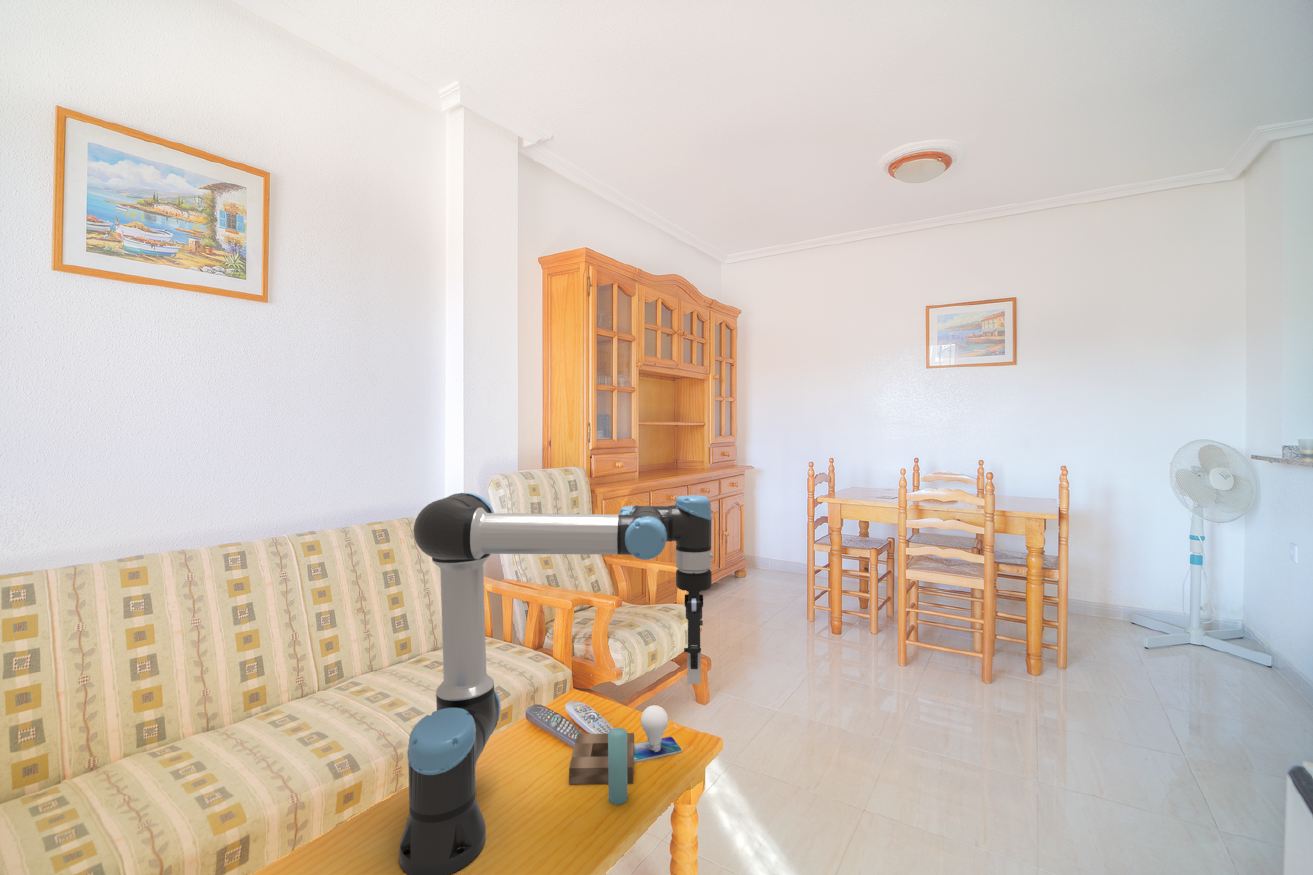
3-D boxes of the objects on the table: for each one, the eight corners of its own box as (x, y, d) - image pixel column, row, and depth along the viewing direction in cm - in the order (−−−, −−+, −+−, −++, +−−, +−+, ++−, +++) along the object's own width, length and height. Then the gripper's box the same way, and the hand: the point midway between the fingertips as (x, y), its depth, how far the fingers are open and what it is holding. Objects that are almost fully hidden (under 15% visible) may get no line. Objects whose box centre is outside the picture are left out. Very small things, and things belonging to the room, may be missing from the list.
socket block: (569, 784, 123) (569, 768, 123) (577, 748, 137) (577, 733, 137) (632, 783, 123) (632, 767, 123) (634, 747, 137) (634, 732, 137)
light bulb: (665, 761, 131) (665, 714, 131) (638, 758, 133) (637, 712, 133) (670, 745, 138) (670, 701, 138) (644, 742, 139) (644, 699, 139)
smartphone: (614, 747, 137) (671, 735, 142) (614, 750, 137) (671, 739, 142) (623, 763, 130) (682, 750, 135) (623, 766, 130) (682, 753, 135)
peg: (607, 805, 116) (607, 738, 116) (609, 792, 120) (608, 727, 120) (627, 804, 116) (626, 737, 116) (627, 792, 120) (627, 727, 120)
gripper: (713, 585, 105) (714, 697, 106) (709, 556, 130) (710, 646, 131) (673, 584, 106) (674, 695, 106) (677, 555, 131) (678, 645, 131)
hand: (694, 668), depth 118 cm, fingers open, 13 cm apart
